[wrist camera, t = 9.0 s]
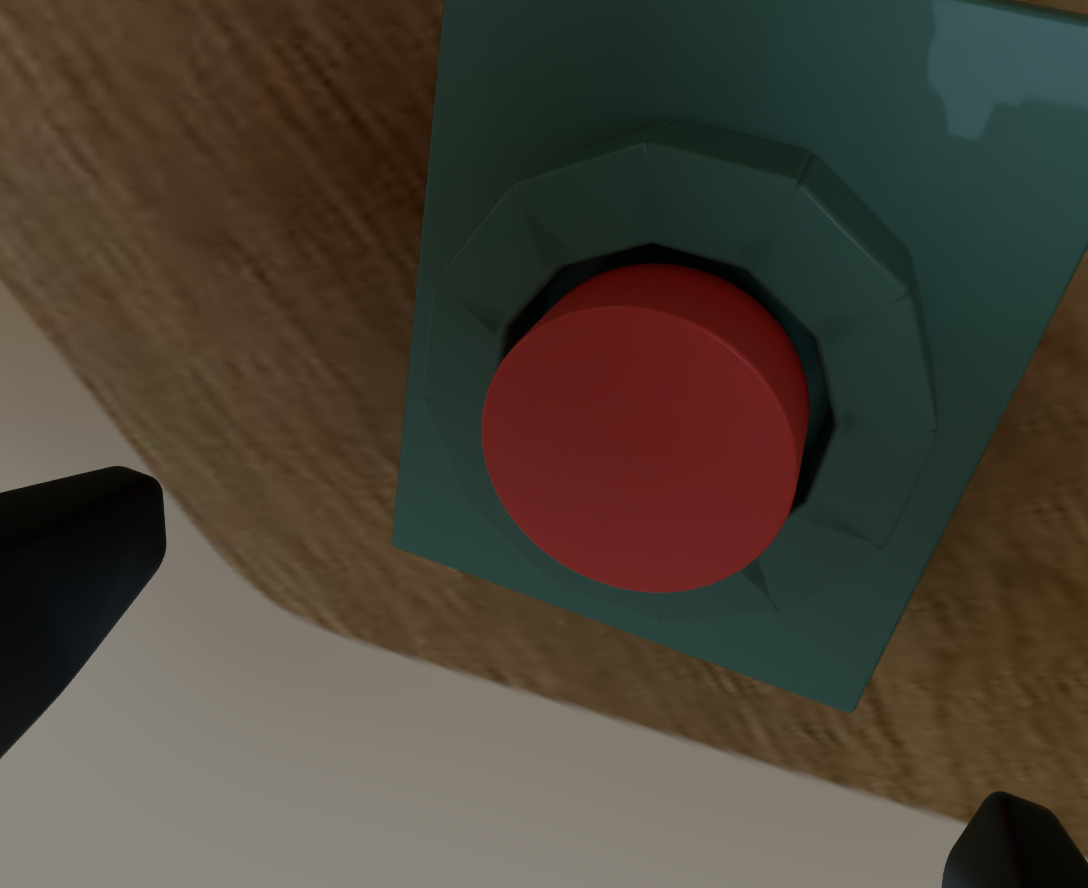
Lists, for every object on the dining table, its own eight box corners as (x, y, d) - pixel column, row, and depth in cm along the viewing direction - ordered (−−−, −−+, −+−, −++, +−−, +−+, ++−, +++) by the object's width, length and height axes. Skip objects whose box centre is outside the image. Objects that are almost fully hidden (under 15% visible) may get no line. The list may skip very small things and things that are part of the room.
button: (759, 560, 13) (742, 635, 12) (507, 474, 14) (462, 535, 13) (852, 310, 11) (847, 364, 10) (550, 226, 12) (503, 264, 10)
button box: (857, 637, 18) (847, 797, 14) (437, 490, 19) (341, 602, 16) (1148, 26, 12) (1245, 56, 8) (512, -101, 14) (386, -118, 10)
